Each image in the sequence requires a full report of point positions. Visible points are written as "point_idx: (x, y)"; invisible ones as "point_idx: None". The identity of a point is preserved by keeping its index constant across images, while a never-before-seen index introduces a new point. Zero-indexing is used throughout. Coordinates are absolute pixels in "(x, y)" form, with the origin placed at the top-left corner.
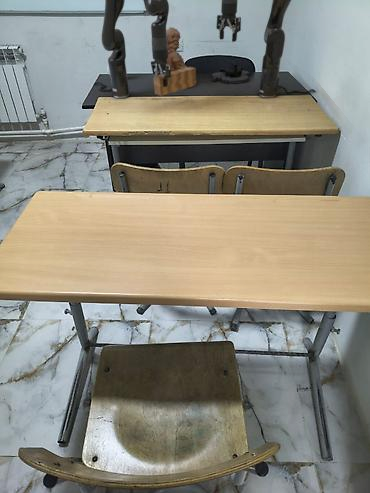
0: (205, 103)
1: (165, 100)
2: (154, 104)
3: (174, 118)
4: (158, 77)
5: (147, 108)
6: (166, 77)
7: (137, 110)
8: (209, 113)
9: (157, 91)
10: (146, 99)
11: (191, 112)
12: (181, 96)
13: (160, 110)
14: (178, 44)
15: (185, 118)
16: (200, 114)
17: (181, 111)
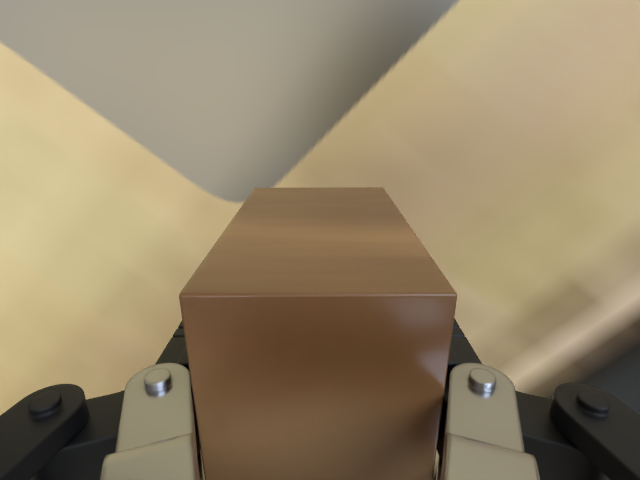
0: (203, 475)
1: (470, 344)
2: (475, 228)
3: (67, 137)
4: (230, 299)
5: (449, 118)
6: (26, 403)
7: (488, 3)
8: (15, 384)
9: (319, 198)
10: (629, 256)
11: (108, 316)
12: (437, 461)
13: (316, 173)
14: None
15: (15, 204)
16: (32, 333)
17: (175, 279)
